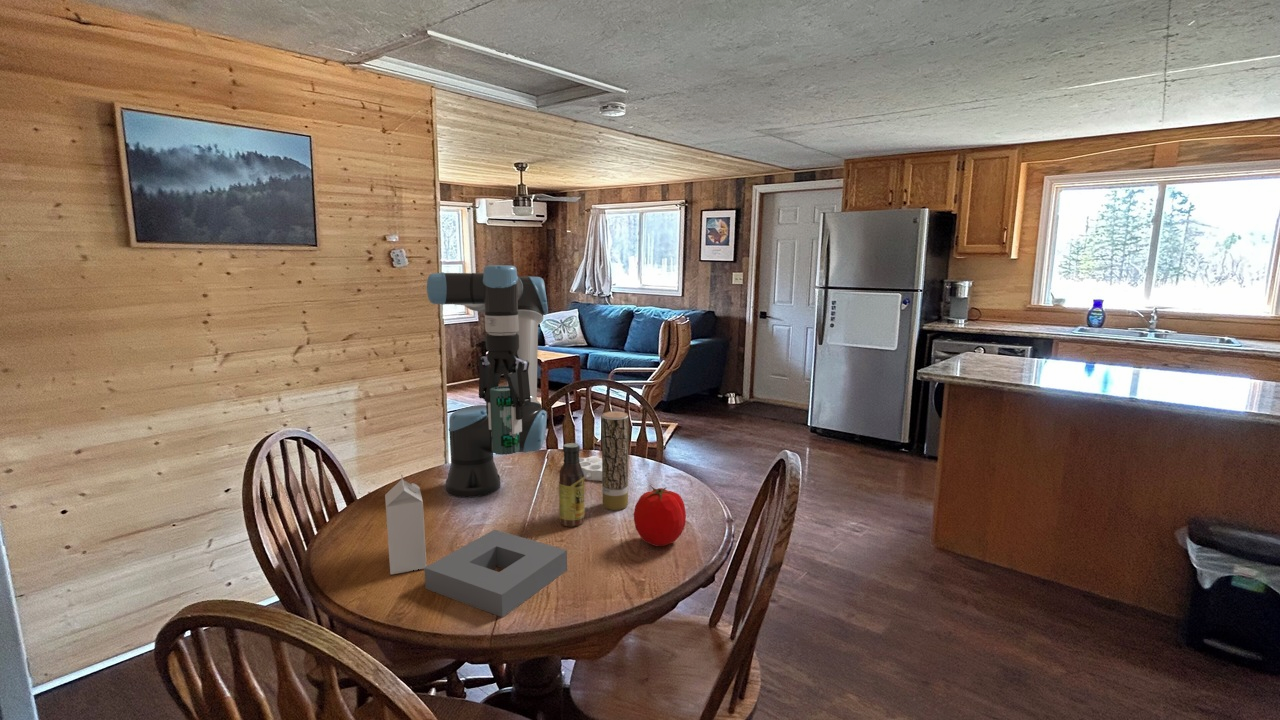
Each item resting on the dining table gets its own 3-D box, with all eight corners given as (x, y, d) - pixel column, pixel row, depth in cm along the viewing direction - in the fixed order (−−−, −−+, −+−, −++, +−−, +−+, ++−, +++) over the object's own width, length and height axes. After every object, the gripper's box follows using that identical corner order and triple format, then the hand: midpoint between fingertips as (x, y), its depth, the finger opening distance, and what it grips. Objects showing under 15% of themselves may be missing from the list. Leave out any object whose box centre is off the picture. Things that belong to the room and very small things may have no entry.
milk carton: (390, 575, 127) (384, 488, 124) (389, 560, 133) (383, 476, 130) (426, 569, 129) (421, 483, 126) (423, 554, 136) (419, 472, 133)
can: (510, 455, 142) (508, 392, 139) (487, 453, 144) (485, 390, 141) (523, 448, 147) (521, 387, 145) (501, 445, 149) (499, 385, 147)
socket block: (425, 588, 122) (424, 567, 121) (495, 548, 139) (494, 529, 138) (502, 617, 112) (501, 594, 111) (567, 570, 129) (566, 550, 128)
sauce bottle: (580, 529, 149) (579, 450, 146) (555, 526, 150) (554, 448, 147) (587, 518, 155) (587, 442, 152) (564, 515, 156) (563, 440, 153)
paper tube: (613, 513, 158) (613, 419, 154) (597, 505, 163) (596, 414, 159) (633, 506, 163) (633, 415, 158) (617, 499, 168) (617, 410, 164)
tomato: (693, 550, 138) (694, 494, 136) (641, 557, 135) (641, 500, 133) (676, 529, 149) (676, 477, 147) (627, 535, 146) (627, 482, 144)
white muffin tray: (632, 473, 189) (601, 487, 177) (589, 461, 200) (557, 474, 188) (632, 463, 188) (601, 476, 177) (588, 451, 199) (556, 463, 188)
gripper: (459, 332, 142) (463, 428, 146) (524, 337, 133) (527, 440, 137) (482, 329, 149) (485, 421, 153) (546, 334, 139) (548, 432, 143)
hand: (505, 430), depth 145 cm, fingers closed on can, 6 cm apart
